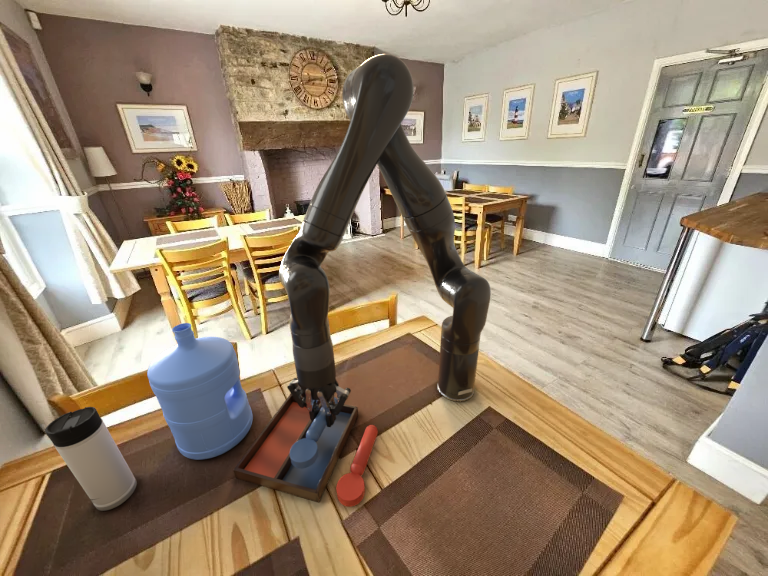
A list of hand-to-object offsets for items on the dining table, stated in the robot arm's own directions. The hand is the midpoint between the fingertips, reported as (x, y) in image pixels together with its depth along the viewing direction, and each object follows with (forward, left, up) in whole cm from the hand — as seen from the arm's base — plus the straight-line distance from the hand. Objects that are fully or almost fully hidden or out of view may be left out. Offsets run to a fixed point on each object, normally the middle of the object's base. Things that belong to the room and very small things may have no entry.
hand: (323, 422), depth 67 cm
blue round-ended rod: (+3, 0, 0) cm, 3 cm away
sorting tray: (+2, -4, -5) cm, 7 cm away
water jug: (+4, -25, -5) cm, 26 cm away
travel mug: (+21, -33, -5) cm, 40 cm away
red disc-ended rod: (+4, +10, -5) cm, 12 cm away
